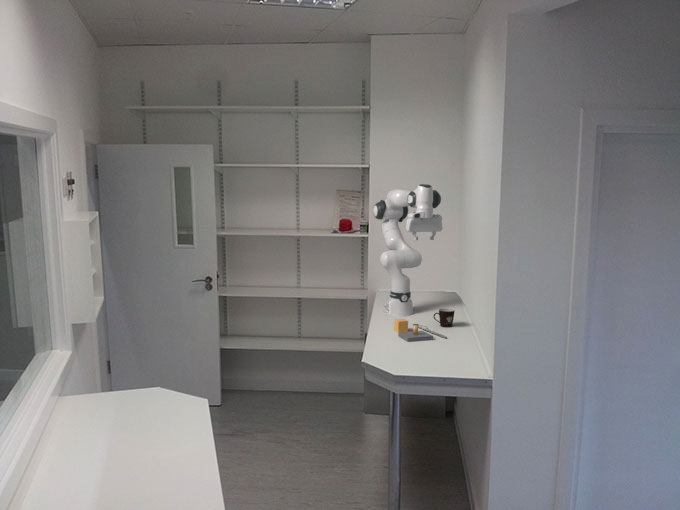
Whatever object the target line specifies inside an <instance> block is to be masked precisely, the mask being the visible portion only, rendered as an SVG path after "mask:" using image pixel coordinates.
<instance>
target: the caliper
mask: <svg viewBox="0 0 680 510" xmlns="http://www.w3.org/2000/svg"><path fill="white" fill-rule="evenodd" d="M413 325H418V329H420V330H421V329H422V331H425V332H427V333H428V332H429V333H430V334H432V335H433V334H434V335H435V336H438V337H441V338H443V339H448V336H446V335H443V334H441V333H439V332H436V331H434V330H431V329H429V327H428V326H426V325H420V324H419V323H412V326H413Z"/></svg>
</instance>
